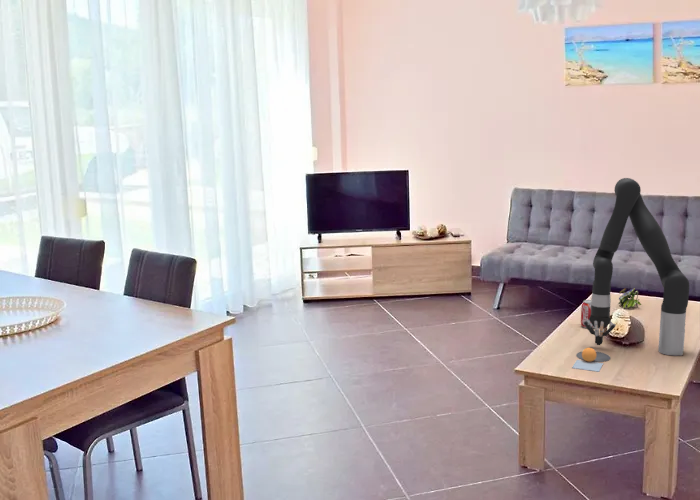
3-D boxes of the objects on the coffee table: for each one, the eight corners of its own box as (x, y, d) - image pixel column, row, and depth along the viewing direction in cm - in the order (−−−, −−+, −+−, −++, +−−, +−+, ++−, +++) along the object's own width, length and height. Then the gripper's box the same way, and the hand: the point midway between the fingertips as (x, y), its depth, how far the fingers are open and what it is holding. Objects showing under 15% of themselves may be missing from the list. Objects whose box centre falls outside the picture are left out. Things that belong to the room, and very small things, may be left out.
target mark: (612, 354, 297) (612, 353, 297) (607, 364, 286) (607, 363, 286) (579, 349, 303) (579, 349, 303) (573, 359, 292) (573, 358, 292)
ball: (598, 351, 290) (596, 346, 286) (596, 364, 288) (594, 359, 284) (584, 349, 293) (581, 345, 289) (582, 362, 291) (579, 358, 287)
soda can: (597, 329, 330) (599, 303, 328) (581, 328, 331) (582, 303, 329) (595, 325, 337) (597, 299, 335) (579, 324, 338) (581, 299, 336)
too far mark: (603, 363, 286) (603, 363, 286) (599, 371, 277) (599, 371, 277) (577, 360, 291) (577, 359, 291) (571, 368, 282) (571, 367, 282)
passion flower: (621, 315, 371) (622, 293, 376) (644, 315, 365) (644, 292, 369) (615, 307, 363) (616, 285, 368) (637, 306, 357) (638, 283, 361)
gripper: (619, 303, 302) (616, 344, 305) (585, 300, 308) (583, 340, 311) (616, 308, 295) (614, 349, 298) (582, 304, 301) (580, 345, 304)
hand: (598, 344), depth 305 cm, fingers closed
